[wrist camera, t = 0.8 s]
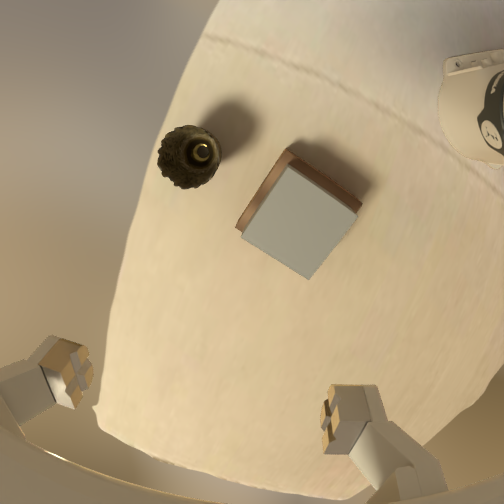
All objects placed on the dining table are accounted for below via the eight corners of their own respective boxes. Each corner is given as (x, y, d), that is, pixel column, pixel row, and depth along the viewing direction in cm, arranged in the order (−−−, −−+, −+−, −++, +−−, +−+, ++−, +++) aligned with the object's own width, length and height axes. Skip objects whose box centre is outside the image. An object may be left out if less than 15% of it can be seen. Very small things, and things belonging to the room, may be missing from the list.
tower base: (285, 148, 41) (285, 150, 38) (355, 197, 43) (362, 203, 39) (238, 219, 46) (235, 227, 42) (307, 262, 47) (309, 273, 44)
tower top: (287, 163, 38) (287, 167, 35) (351, 208, 40) (358, 216, 36) (244, 227, 42) (240, 237, 38) (306, 266, 43) (308, 280, 39)
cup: (166, 152, 42) (144, 158, 35) (202, 114, 40) (186, 112, 33) (203, 188, 44) (188, 202, 36) (241, 152, 42) (232, 157, 34)
